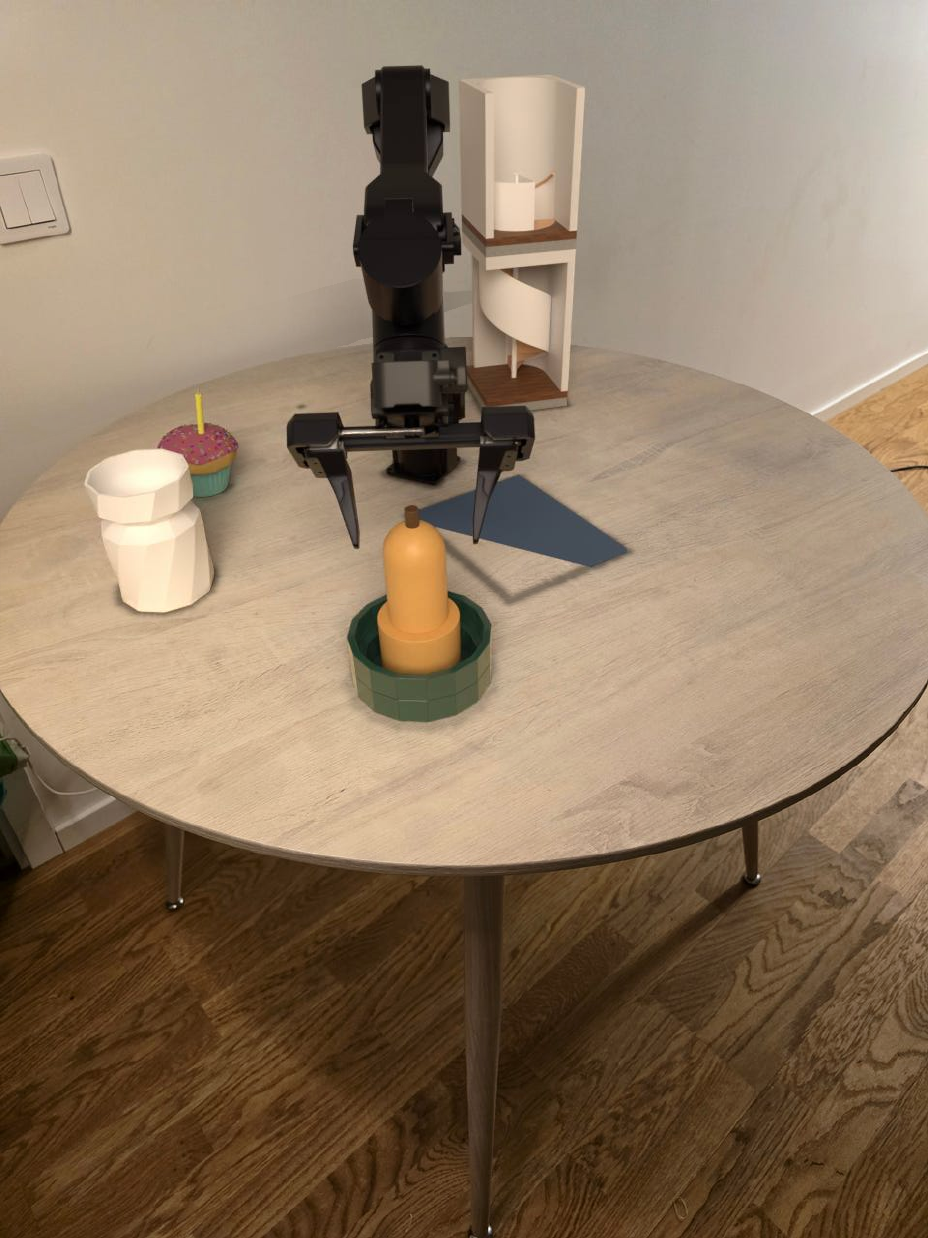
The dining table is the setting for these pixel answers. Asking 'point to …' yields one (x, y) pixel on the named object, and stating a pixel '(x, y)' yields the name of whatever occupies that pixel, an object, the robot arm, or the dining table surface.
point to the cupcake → (203, 452)
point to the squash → (417, 601)
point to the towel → (527, 523)
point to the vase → (151, 528)
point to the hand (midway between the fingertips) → (416, 545)
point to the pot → (421, 692)
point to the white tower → (521, 233)
